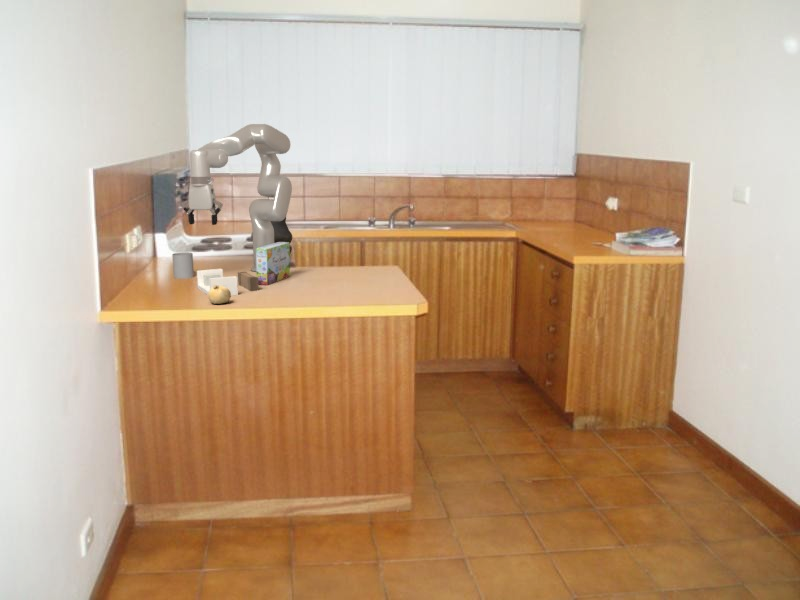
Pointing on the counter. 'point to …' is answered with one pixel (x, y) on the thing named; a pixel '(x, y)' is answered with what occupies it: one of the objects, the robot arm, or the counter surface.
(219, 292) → the onion
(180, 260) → the cup
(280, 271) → the snack box
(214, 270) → the white bracket frame
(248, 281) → the tan bar
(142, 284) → the counter surface
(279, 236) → the pitcher
